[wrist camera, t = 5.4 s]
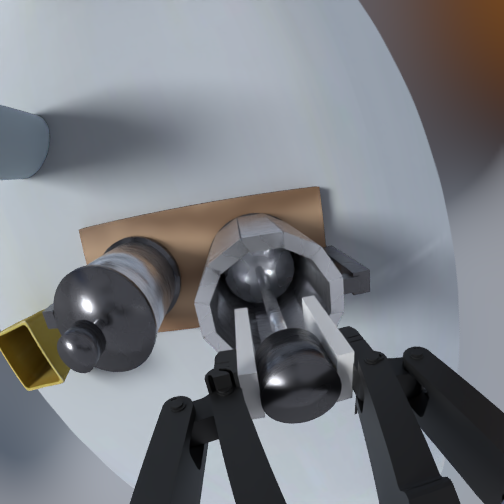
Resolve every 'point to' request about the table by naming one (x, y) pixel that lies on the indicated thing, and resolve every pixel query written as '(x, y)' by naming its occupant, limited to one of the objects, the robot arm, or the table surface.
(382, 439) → the robot arm
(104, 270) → the short press
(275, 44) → the table surface
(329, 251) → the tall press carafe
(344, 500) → the table surface
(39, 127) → the spray bottle
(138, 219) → the serving board
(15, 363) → the flower pot
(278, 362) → the plunger
